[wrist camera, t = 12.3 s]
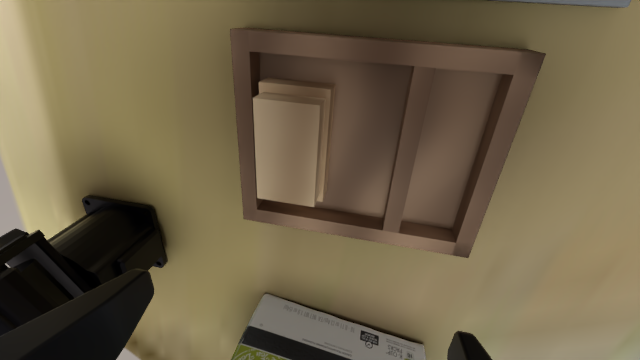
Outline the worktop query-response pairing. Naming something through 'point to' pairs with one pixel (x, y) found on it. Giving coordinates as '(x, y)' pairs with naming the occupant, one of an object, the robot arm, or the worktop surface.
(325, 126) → the offcut lower
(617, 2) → the mat
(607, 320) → the worktop surface
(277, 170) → the offcut upper
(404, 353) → the tea box
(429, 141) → the tray
